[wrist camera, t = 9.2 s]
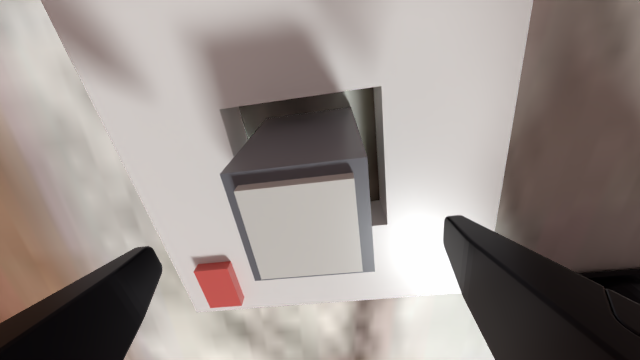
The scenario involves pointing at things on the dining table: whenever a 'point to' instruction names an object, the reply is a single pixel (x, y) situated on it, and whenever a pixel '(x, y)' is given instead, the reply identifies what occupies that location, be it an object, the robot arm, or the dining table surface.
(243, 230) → the plug
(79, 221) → the dining table surface
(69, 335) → the robot arm
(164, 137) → the socket plate
